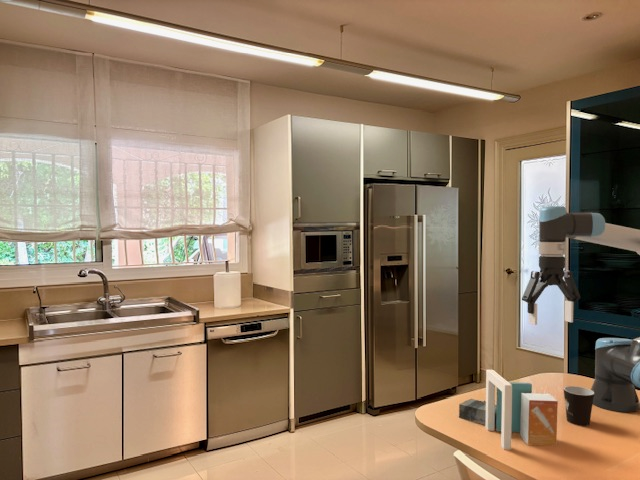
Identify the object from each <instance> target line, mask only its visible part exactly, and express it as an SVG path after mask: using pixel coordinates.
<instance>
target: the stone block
mask: <svg viewBox="0 0 640 480" xmlns="http://www.w3.org/2000/svg"><path fill="white" fill-rule="evenodd" d="M496 405H497V404H495V420H494V429H496ZM458 406H459V407H458V413H459V414H458V415H459V416H458V418H459V419H463V420H466V421H469V422H471V423H476V424H481V425H484V426H485V424H486V400H483V401H482V400H480V399H474V398H470V399H467V400H465V401H463V402H461V403H459V405H458Z"/></svg>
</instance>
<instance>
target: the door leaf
mask: <svg viewBox="0 0 640 480" xmlns="http://www.w3.org/2000/svg"><path fill="white" fill-rule="evenodd" d="M508 382H509V383H510V384H511V385H512V423H511V433H520V428H521V393H533V392H532V390H533V383H531V382H511V381H508ZM495 405H496V428H495V431H497V432H501V421H502V391H501V390H499V389H498V388H497V387H496V404H495Z"/></svg>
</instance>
